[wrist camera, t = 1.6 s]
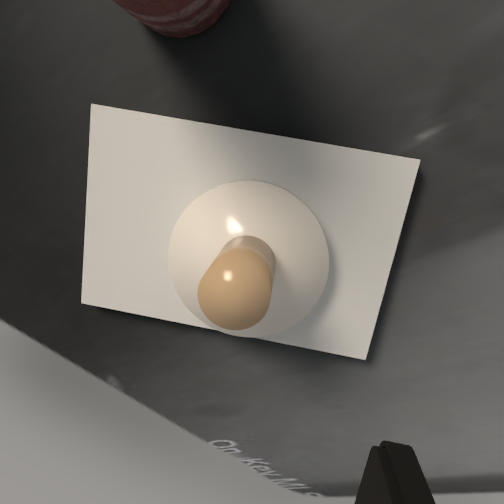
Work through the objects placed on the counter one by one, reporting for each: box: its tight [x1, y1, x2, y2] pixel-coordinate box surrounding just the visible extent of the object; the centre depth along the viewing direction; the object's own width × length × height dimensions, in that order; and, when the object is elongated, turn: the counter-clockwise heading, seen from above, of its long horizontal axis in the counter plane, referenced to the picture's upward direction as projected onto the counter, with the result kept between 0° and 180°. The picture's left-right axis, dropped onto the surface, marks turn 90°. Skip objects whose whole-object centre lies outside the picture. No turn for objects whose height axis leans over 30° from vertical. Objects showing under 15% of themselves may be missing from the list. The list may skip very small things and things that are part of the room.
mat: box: [81, 104, 420, 360], centre depth 24 cm, size 18×12×1 cm, turn 81°
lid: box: [168, 180, 329, 337], centre depth 20 cm, size 9×9×6 cm
